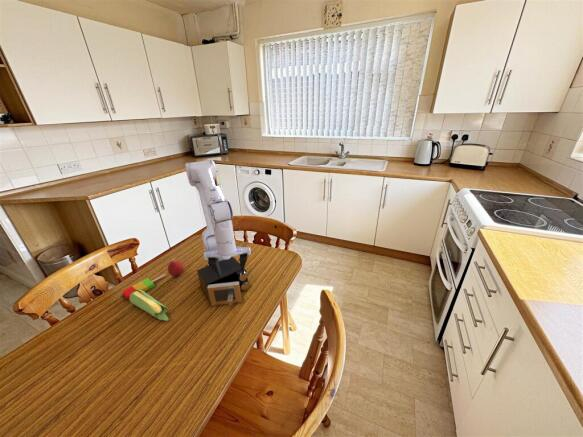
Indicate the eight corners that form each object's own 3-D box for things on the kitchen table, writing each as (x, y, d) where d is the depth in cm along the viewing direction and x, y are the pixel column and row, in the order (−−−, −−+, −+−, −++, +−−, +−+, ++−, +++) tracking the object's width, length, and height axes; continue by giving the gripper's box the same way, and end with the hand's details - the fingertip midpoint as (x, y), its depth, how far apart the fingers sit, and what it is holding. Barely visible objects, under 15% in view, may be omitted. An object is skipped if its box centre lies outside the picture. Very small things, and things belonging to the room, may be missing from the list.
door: (240, 311, 78) (237, 293, 75) (209, 315, 77) (204, 297, 74) (241, 298, 83) (238, 281, 80) (212, 302, 82) (208, 284, 79)
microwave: (249, 288, 88) (247, 270, 85) (213, 306, 80) (209, 288, 77) (235, 272, 97) (232, 255, 94) (201, 287, 89) (196, 270, 86)
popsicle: (122, 295, 87) (120, 291, 86) (162, 273, 98) (161, 270, 97) (129, 301, 84) (127, 297, 83) (169, 278, 95) (168, 274, 94)
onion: (179, 281, 93) (175, 264, 90) (167, 279, 94) (161, 263, 91) (188, 272, 98) (184, 255, 95) (176, 270, 99) (171, 254, 96)
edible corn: (142, 294, 87) (138, 284, 85) (176, 315, 77) (172, 305, 75) (127, 303, 83) (123, 293, 81) (161, 327, 73) (157, 316, 72)
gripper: (198, 248, 70) (207, 284, 76) (248, 242, 72) (253, 279, 77) (203, 236, 76) (210, 271, 82) (248, 232, 78) (253, 266, 83)
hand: (231, 274), depth 80 cm, fingers open, 7 cm apart
